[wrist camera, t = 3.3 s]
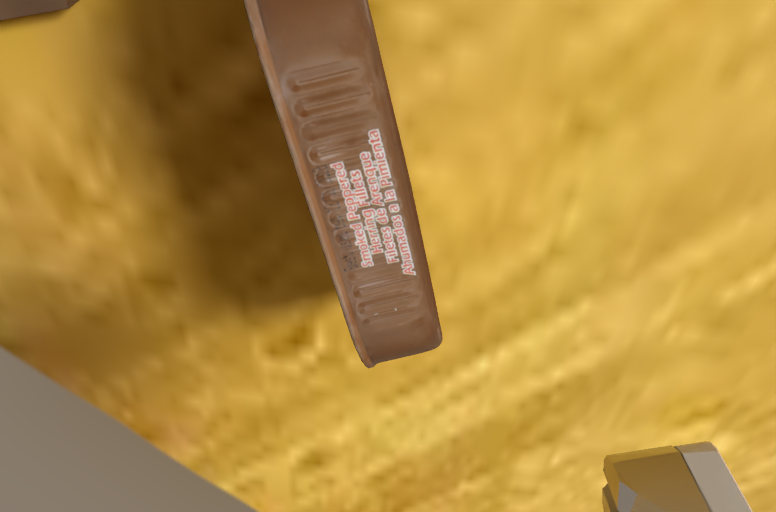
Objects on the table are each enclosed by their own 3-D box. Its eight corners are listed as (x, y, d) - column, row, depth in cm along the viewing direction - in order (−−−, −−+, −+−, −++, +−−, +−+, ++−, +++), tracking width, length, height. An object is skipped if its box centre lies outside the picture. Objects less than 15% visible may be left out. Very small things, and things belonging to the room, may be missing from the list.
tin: (240, -144, 19) (170, -99, 12) (347, -171, 19) (338, -140, 12) (361, 266, 28) (360, 426, 21) (435, 252, 27) (459, 409, 20)
